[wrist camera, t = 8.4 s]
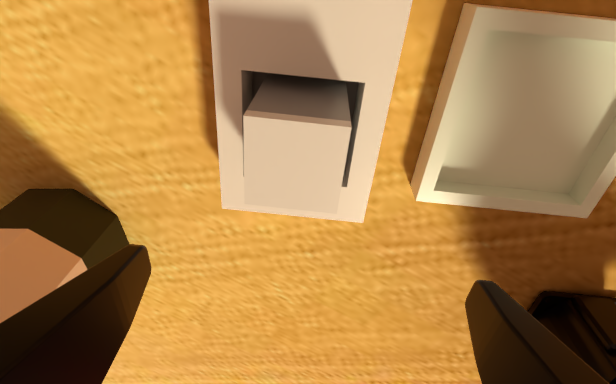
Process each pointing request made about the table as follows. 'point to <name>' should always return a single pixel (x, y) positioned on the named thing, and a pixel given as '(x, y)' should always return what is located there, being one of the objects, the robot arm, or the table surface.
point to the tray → (523, 114)
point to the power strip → (306, 63)
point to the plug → (296, 143)
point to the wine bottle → (51, 243)
